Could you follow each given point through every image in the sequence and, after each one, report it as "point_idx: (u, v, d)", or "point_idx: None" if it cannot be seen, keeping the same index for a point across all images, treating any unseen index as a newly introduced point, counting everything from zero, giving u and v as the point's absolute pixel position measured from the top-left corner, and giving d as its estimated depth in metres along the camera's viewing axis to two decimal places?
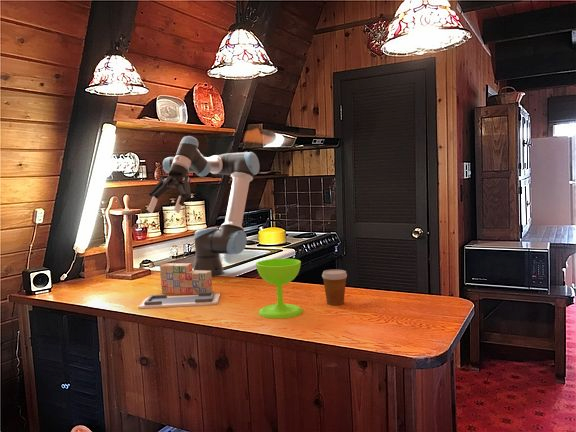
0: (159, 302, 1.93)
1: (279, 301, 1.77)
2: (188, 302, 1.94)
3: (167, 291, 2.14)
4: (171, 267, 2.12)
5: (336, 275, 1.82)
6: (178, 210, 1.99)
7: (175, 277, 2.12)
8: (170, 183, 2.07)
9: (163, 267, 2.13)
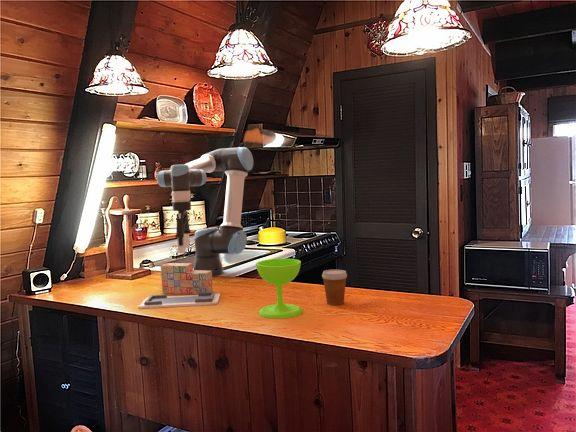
0: (159, 302, 1.93)
1: (279, 301, 1.77)
2: (188, 302, 1.94)
3: (168, 291, 2.14)
4: (172, 267, 2.12)
5: (336, 275, 1.82)
6: (182, 251, 2.06)
7: (176, 277, 2.12)
8: None
9: (164, 267, 2.13)
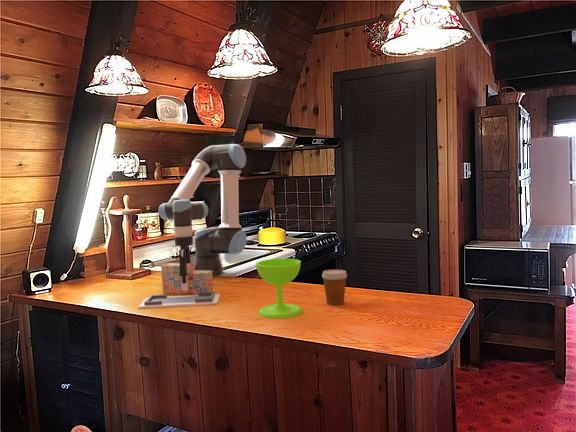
0: (159, 302, 1.93)
1: (279, 301, 1.77)
2: (188, 302, 1.94)
3: (168, 291, 2.14)
4: (172, 267, 2.12)
5: (336, 275, 1.82)
6: (186, 289, 2.09)
7: (176, 277, 2.12)
8: None
9: (164, 267, 2.13)
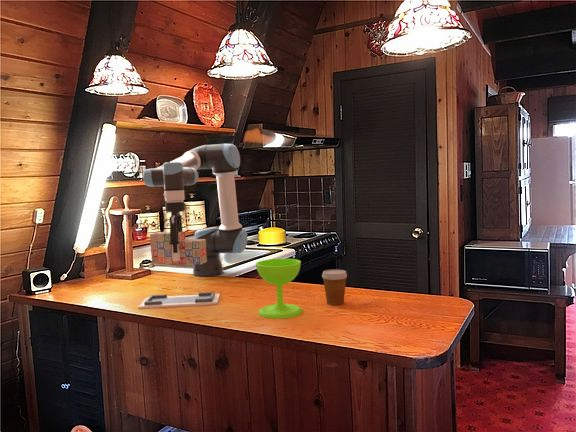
0: (159, 302, 1.93)
1: (279, 301, 1.77)
2: (188, 302, 1.94)
3: (158, 262, 1.96)
4: (162, 235, 1.95)
5: (336, 275, 1.82)
6: (177, 259, 1.93)
7: (166, 246, 1.94)
8: None
9: (153, 235, 1.96)
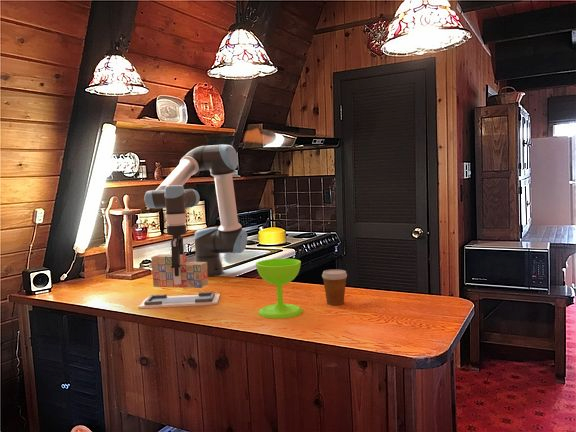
0: (159, 302, 1.93)
1: (279, 301, 1.77)
2: (188, 302, 1.94)
3: (159, 284, 1.97)
4: (163, 258, 1.95)
5: (336, 275, 1.82)
6: (178, 282, 1.93)
7: (168, 269, 1.95)
8: None
9: (155, 258, 1.96)
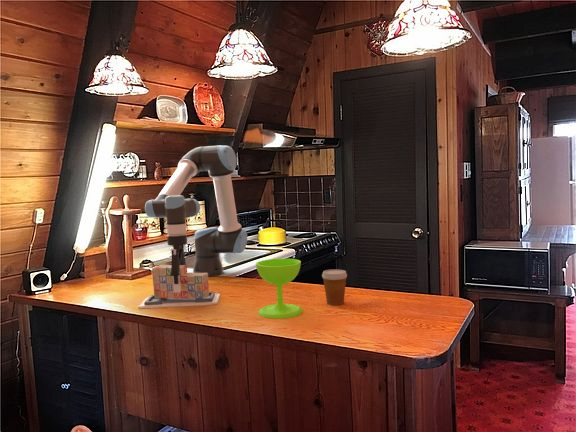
0: (159, 302, 1.93)
1: (279, 301, 1.77)
2: (188, 302, 1.94)
3: (160, 295, 1.97)
4: (164, 269, 1.96)
5: (336, 275, 1.82)
6: (178, 290, 1.91)
7: (169, 280, 1.96)
8: None
9: (155, 269, 1.97)
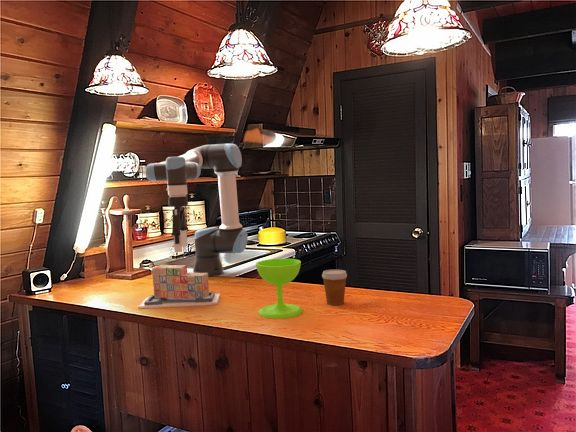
0: (159, 302, 1.93)
1: (279, 301, 1.77)
2: (188, 302, 1.94)
3: (160, 295, 1.97)
4: (164, 269, 1.96)
5: (336, 275, 1.82)
6: (179, 250, 1.92)
7: (169, 280, 1.96)
8: None
9: (155, 269, 1.97)
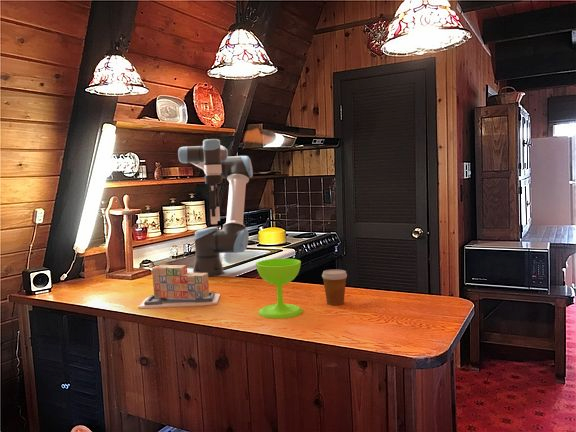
0: (159, 302, 1.93)
1: (279, 301, 1.77)
2: (188, 302, 1.94)
3: (160, 295, 1.97)
4: (164, 269, 1.96)
5: (336, 275, 1.82)
6: (215, 222, 2.14)
7: (169, 280, 1.96)
8: None
9: (155, 269, 1.97)
